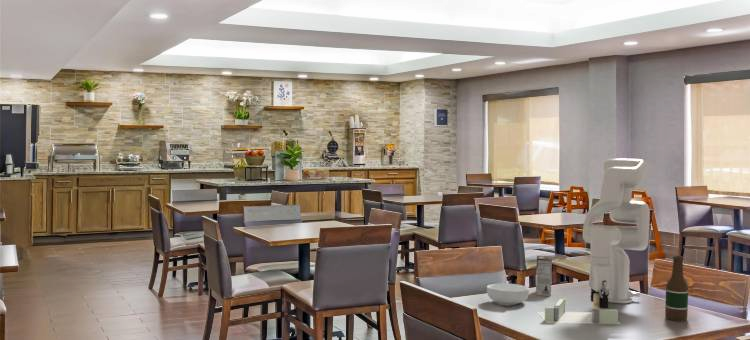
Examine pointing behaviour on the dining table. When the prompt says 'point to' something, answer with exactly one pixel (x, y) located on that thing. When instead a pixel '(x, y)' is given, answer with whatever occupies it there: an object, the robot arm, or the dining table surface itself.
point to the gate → (561, 306)
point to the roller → (596, 301)
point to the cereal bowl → (507, 293)
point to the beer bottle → (677, 293)
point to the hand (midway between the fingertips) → (599, 304)
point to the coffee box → (543, 275)
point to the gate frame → (581, 316)
